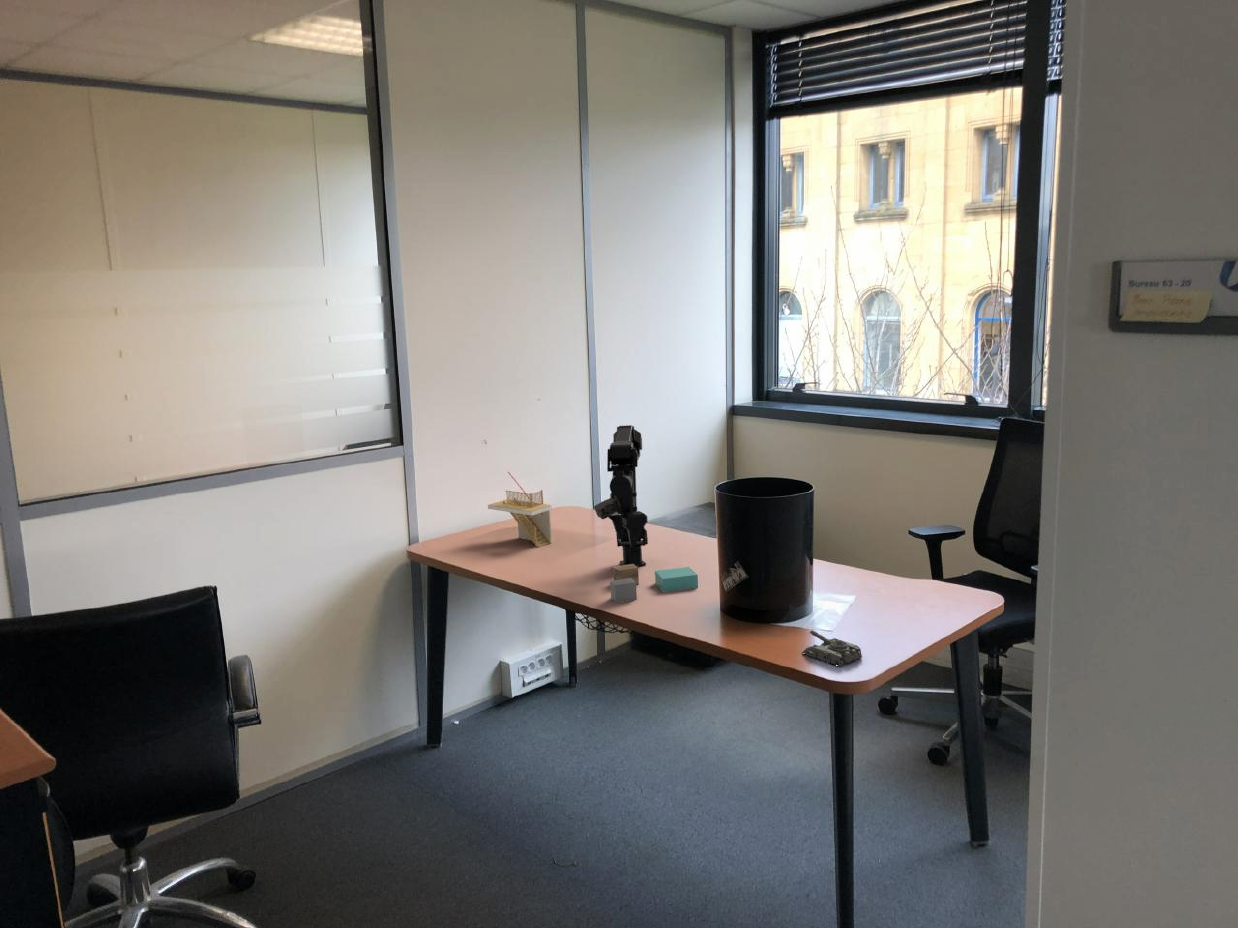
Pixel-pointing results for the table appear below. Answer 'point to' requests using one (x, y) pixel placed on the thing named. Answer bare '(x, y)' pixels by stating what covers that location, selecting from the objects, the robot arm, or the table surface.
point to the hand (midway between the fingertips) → (626, 543)
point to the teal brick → (676, 579)
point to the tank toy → (833, 650)
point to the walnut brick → (626, 572)
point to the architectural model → (528, 516)
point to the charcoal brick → (623, 590)
